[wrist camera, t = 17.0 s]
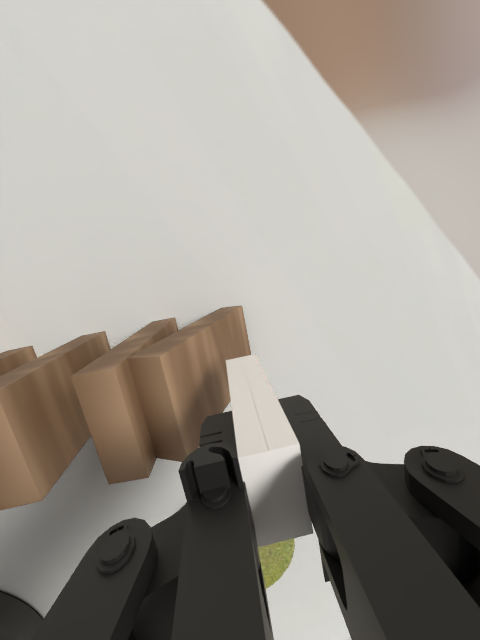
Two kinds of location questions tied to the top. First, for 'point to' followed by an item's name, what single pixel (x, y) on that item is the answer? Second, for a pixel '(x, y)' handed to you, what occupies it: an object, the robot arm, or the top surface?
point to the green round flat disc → (275, 560)
